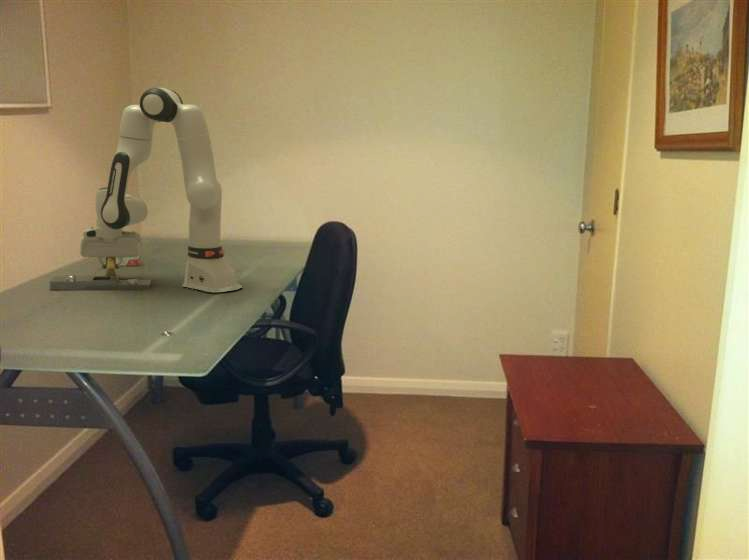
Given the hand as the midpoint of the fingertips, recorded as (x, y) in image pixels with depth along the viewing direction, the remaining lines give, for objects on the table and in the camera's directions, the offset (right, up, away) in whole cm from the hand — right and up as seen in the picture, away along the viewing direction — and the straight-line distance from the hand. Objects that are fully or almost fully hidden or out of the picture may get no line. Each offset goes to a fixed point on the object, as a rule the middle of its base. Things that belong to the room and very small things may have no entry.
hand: (111, 268), depth 255 cm
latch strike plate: (+2, -7, -12) cm, 14 cm away
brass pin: (0, -4, +1) cm, 4 cm away
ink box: (-3, +2, +25) cm, 25 cm away
